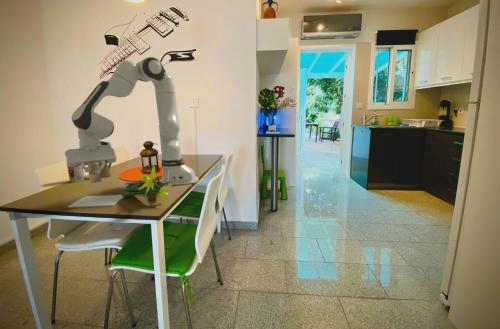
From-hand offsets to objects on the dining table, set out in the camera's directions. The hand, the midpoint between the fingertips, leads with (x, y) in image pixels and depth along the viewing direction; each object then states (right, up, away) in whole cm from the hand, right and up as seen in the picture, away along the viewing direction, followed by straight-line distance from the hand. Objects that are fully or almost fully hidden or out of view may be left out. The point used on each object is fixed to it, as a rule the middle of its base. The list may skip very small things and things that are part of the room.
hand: (94, 170), depth 115 cm
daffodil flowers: (+22, -15, +2) cm, 27 cm away
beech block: (0, -5, +2) cm, 5 cm away
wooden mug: (-26, -5, +54) cm, 60 cm away
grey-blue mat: (0, -15, +4) cm, 15 cm away
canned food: (-38, -8, +42) cm, 57 cm away
